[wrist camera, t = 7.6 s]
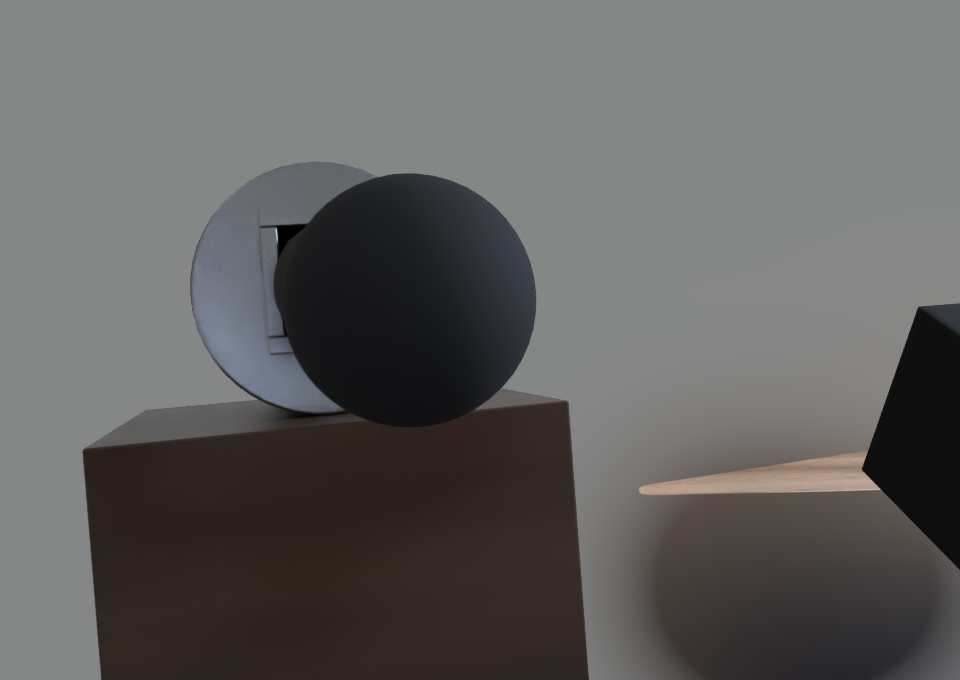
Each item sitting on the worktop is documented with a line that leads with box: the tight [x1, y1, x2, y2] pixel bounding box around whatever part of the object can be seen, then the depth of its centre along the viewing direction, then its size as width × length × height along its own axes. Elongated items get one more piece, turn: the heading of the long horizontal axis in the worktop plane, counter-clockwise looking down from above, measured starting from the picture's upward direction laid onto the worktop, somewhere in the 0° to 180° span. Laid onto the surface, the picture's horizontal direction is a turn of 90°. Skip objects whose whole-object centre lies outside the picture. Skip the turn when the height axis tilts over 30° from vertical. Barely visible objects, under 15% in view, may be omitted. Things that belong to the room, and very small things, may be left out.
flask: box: [190, 162, 378, 415], centre depth 27 cm, size 13×7×7 cm, turn 14°
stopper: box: [274, 174, 536, 427], centre depth 17 cm, size 13×4×4 cm, turn 16°
